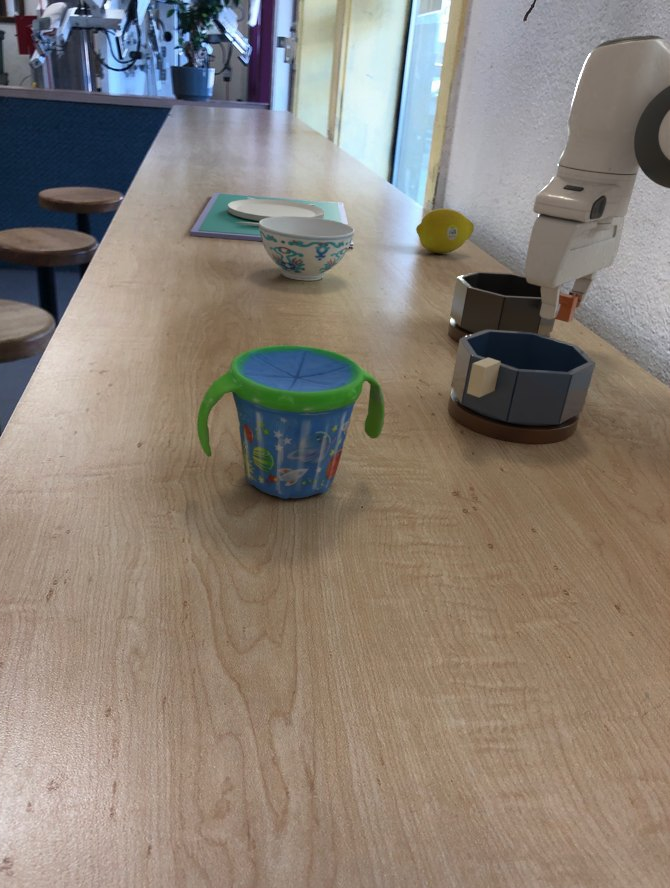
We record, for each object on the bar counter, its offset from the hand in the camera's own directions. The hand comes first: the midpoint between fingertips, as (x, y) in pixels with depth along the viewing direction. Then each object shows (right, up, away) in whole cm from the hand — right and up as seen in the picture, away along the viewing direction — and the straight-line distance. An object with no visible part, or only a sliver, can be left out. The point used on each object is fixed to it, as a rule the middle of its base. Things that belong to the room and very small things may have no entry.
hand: (561, 311), depth 99 cm
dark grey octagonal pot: (-5, -1, +5) cm, 7 cm away
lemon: (-6, +23, +51) cm, 56 cm away
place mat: (-38, +35, +67) cm, 85 cm away
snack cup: (-34, -22, -32) cm, 52 cm away
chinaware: (-32, +12, +28) cm, 45 cm away
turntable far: (-6, -2, +7) cm, 9 cm away
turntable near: (-11, -15, -17) cm, 25 cm away
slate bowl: (-12, -14, -18) cm, 26 cm away
